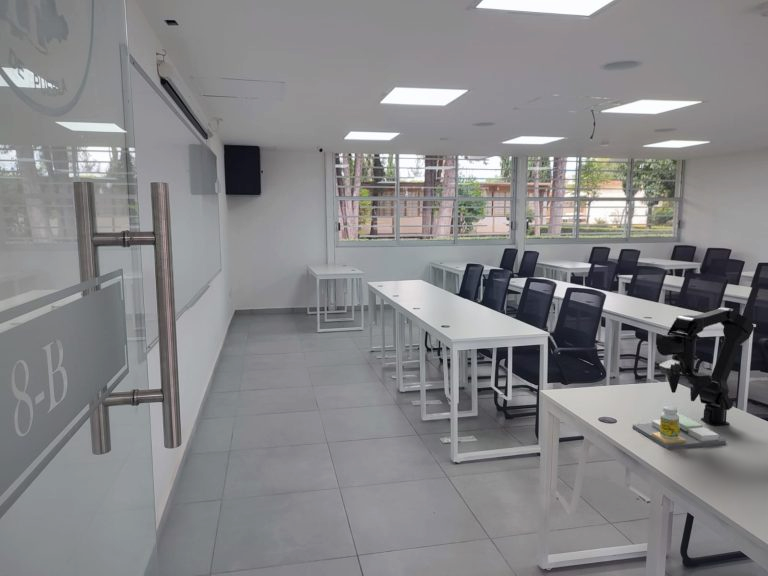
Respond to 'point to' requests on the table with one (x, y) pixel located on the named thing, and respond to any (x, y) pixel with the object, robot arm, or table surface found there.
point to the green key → (687, 423)
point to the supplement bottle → (669, 423)
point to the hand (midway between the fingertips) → (682, 396)
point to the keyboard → (680, 436)
